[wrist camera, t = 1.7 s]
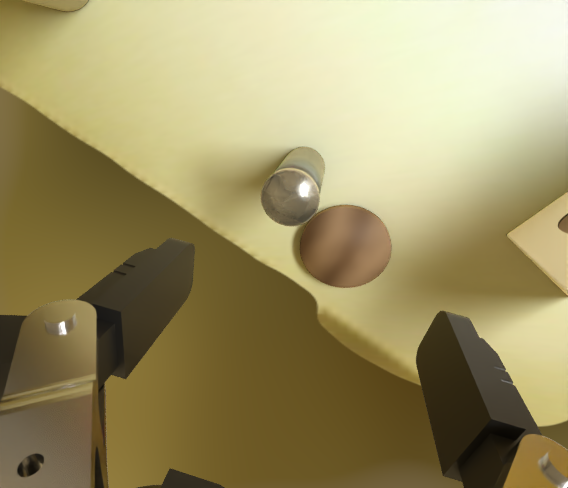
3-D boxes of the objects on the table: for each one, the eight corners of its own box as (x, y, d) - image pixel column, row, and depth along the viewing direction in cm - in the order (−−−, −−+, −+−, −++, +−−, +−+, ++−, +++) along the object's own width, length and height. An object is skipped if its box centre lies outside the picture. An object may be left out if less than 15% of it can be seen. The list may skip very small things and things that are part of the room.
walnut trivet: (292, 270, 46) (291, 274, 45) (313, 194, 41) (312, 197, 39) (372, 292, 46) (372, 297, 45) (404, 218, 40) (406, 222, 39)
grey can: (278, 183, 41) (256, 217, 30) (287, 141, 38) (266, 162, 28) (319, 193, 40) (310, 232, 30) (330, 152, 38) (326, 178, 27)
